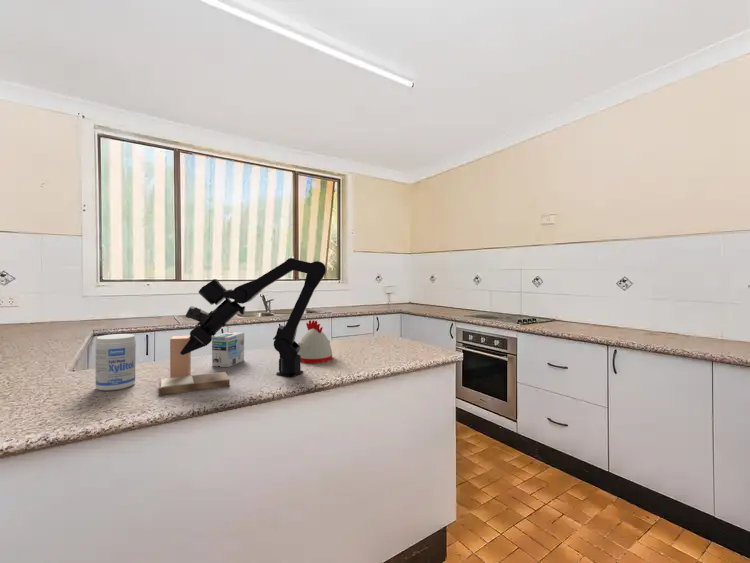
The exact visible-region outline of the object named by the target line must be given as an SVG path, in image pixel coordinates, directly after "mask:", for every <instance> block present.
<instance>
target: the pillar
mask: <svg viewBox="0 0 750 563" xmlns="http://www.w3.org/2000/svg"><path fill="white" fill-rule="evenodd" d="M189 340H190V334H188V335H173V336H171V337H170V339H169V350H170V351H169V353H170V354H169V370H170V371H169V378H174V377H183V376H191V373H192V370H191V365H192V364H191V363H192V358H191V357H192V356H191V355H192V354H191V352H192V351H191V352H189V353H187V354H184V355H182V354H180V352H181V351H182V349H183V348H184V347H185V345H186V344H187V343H188V341H189Z"/></svg>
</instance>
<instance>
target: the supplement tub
mask: <svg viewBox="0 0 750 563" xmlns="http://www.w3.org/2000/svg"><path fill="white" fill-rule="evenodd" d="M136 343H137V342H136V335H135V334H132V333H114V334H105V335H100V336H97V337H96V341H95V388H96V389H97V390H100V391H119V390H123V389H127V388H129V387H131V386H133V385H134V384H135V383H136V365H137V364H136V361H137V358H136V357H137V356H136V354H137V352H136V351H137V348H136V347H137V345H136Z"/></svg>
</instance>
